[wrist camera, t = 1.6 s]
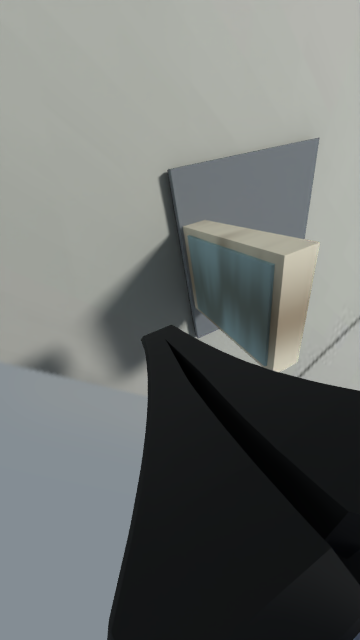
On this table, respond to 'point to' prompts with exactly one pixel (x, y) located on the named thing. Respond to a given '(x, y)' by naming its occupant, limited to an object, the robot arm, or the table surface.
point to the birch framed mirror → (253, 287)
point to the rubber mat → (245, 197)
